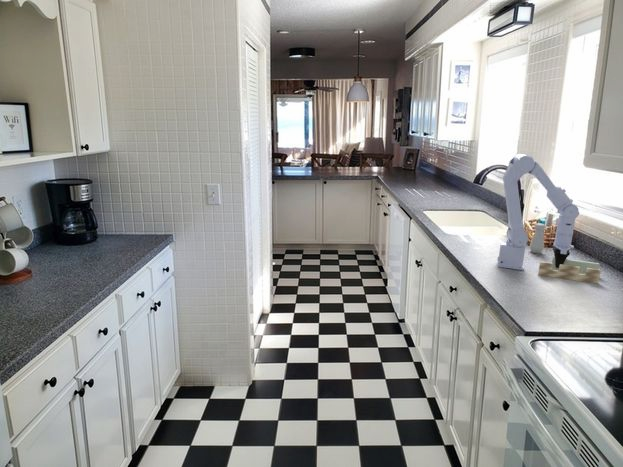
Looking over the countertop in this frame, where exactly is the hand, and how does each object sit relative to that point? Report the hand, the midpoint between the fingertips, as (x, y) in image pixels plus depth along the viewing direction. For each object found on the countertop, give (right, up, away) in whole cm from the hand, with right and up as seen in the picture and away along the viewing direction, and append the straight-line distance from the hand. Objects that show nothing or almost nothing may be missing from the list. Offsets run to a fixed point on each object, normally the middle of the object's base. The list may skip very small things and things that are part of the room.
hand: (558, 267), depth 186 cm
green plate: (+5, -2, -2) cm, 6 cm away
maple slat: (-1, -4, -9) cm, 9 cm away
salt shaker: (+3, +5, +25) cm, 26 cm away
